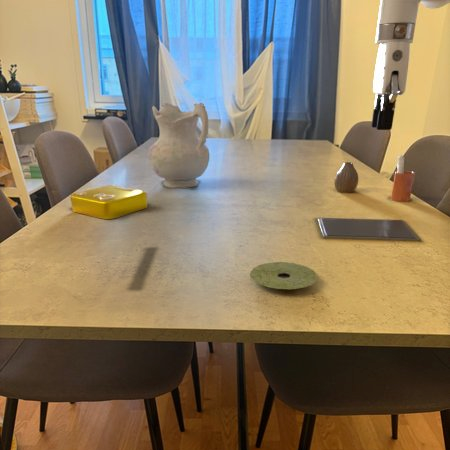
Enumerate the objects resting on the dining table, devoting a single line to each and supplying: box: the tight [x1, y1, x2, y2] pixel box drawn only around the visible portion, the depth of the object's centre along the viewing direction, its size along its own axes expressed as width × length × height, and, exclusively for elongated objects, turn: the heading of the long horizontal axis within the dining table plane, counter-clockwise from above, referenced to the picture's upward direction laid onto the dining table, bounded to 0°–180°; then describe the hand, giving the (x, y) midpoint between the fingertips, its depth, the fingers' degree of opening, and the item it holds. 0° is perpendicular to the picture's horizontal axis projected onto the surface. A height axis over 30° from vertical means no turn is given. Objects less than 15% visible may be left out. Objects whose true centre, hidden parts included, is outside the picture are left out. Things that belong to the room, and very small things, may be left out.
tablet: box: [317, 217, 421, 242], centre depth 98 cm, size 20×14×1 cm
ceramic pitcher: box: [148, 102, 210, 189], centre depth 136 cm, size 22×20×25 cm
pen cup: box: [390, 170, 416, 203], centre depth 120 cm, size 5×5×8 cm
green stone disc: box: [249, 261, 319, 290], centre depth 73 cm, size 11×11×2 cm
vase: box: [333, 161, 359, 194], centre depth 129 cm, size 7×7×9 cm
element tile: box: [69, 184, 148, 220], centre depth 114 cm, size 15×15×5 cm
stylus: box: [397, 154, 405, 174], centre depth 119 cm, size 2×2×12 cm
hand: (381, 127), depth 99 cm, fingers open, 4 cm apart
